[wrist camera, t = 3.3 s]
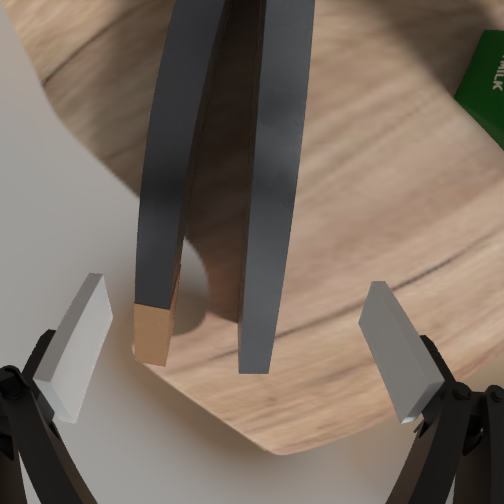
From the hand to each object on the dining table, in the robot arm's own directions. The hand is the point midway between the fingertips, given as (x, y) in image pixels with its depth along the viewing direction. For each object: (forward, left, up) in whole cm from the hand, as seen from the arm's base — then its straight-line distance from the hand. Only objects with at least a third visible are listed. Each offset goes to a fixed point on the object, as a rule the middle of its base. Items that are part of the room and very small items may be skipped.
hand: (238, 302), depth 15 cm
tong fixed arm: (-8, 0, -7) cm, 11 cm away
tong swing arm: (-6, -4, -7) cm, 10 cm away
